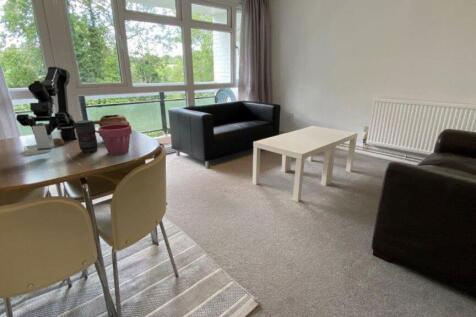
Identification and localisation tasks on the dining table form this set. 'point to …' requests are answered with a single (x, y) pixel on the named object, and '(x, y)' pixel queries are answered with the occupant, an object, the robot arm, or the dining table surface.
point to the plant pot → (116, 138)
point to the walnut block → (58, 142)
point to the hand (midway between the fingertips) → (41, 135)
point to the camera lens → (86, 136)
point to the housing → (43, 137)
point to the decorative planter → (111, 120)
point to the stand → (33, 150)
